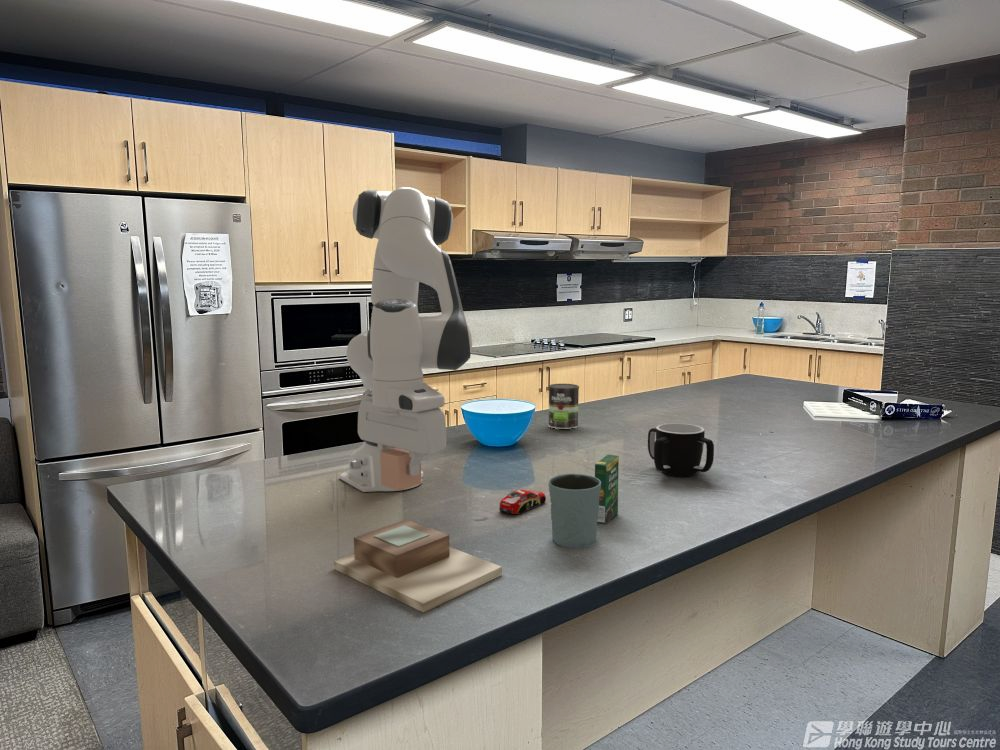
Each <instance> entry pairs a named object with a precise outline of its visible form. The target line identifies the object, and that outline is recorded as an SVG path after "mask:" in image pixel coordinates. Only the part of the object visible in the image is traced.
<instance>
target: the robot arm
mask: <svg viewBox="0 0 1000 750" xmlns="http://www.w3.org/2000/svg"><path fill="white" fill-rule="evenodd" d="M352 220H353V224H354V226H355V230H356V232H357V233H358V234H359V235H360V236H362V237H364V238H367V239H372V240H373V239H377V244H376V249H375V253H374V258H373V268H372V278H371V279H372V281H371V290H370V291H371V293H370V302H371V303H372V305H373V306H372V311H371V316H370V317H371V318H370V328H369V329H368V330H366V331H363V332H362V333H359V334H358V335H355V336H354V337H353V338H351V340H350V341H349V343H348V344H347V347H346V359H347V362H348V365H349V366H350V368H351V369H352V370H353V371H354V372H355V373H356V374H357V375H358V376H359V378H360V380H361V382H362V384H363V387H364V390H365V391H364V392H363V393H362V395H361V396H360V400H361V401H360V404H359V406H358V412H357V434H358V437H359V438H360V440H362V441H364V443H363V444H361V445H360V446H359V447H358V448H357V449H356V450H355V451H354V452H352V453H351V455H350V456H349V459H348V470H346V471H344V472H342V473H340V474H339V479H340V480H341V481H343V482H345V483H347V484H348V485H350V486H352V487H353V488H356V489H357V490H358V491H360V492H363V493H366V492H367V493H370V492H396V491H397V492H398V491H399V490H396V489H393V488H390V487H386V486H383V485H381V465H380V452H381V451H385V450H389V449H393V448H398V449H402V450H407V451H409V457H412V458H411V461H410V464H409V465H406V470H407V471H406V474H407V475H411V476H416V475H418V474H419V465H420V463H421V464H422V461H423V458H424V456H426V457H427V456H428V457H431V456H436V455H440V454H442V453H443V452H444V451H445V449H446V447H447V426H446V415H445V413H444V411H443V410H442V409H441V408H444V406H445V400H446V399H445V396H444V395H443V393H441V392H439V391H437V390H436V389H434V388H433V387H431V386H430V385H429V384H428V383H426V382H424V372H423V369H426V370H427V369H438V370H447V371H448V370H449V371H456V370H458V369H460V368H461V367H463V366H464V365H465V364H466V363H467V362H468V361H469V360H470V359H471V354H472V351H473V340H472V339H473V338H472V333H471V330H470V327H469V325H468V323H467V320H466V316H465V313H464V308H463V305H462V300H461V296H460V292H459V287H458V284H457V279H456V276H455V275H456V274H455V272H454V268H453V264H452V260H451V258H450V256H449V253H448V252H447V251H445V250H443V249H441V248H440V247H439V246H441V245H442V244H443V243H445V242H447V241H448V239H449V236H450V234H451V233H452V230H453V227H454V213H453V210H452V205H450V202H449V201H446V200H445V199H442V198H439V197H437V196H434V197H430V196H427V195H425V194H423V192H422V191H420V190H418V189H416V188H413V187H409V186H408V187H407V186H406V187H399V188H396V189H394V190H393V191H377V189H369V190H364V191H361V193H359V194H358V197H357V198H356V200H355V202H354V205H353V208H352ZM420 283H422V284H424V285H427V286H430V287H431V288H432V289H433V290H435V291H436V292H437V297H438V300H439V306H440V310H441V314H439V315H434V316H433V315H432V316H420V315H419V308H418V299H419V287H420ZM423 477H424V471H423V470H421V480H422V481H423ZM420 485H421V484H419V485H416V486H413V487H410V488H406V489H403V490H402V491H404V490H409V489H413V488H415V487H418V486H420Z"/></svg>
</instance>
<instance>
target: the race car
mask: <svg viewBox="0 0 1000 750" xmlns="http://www.w3.org/2000/svg"><path fill="white" fill-rule="evenodd" d="M546 499H547V498H546V495H545V493H544V492H542V491H540V490H535V489H534V490H533V489H528V490H526V489H516V490H514V491H512V492H510V493H508V494H507V495H506V496H505V497H503V498H502V499H500V502H499V507H498V508H499V511H500V512H504V513H508V514H513V515H519V514H520V515H522V514H523V513H525V512H527V511H529V510H531V509H533V508H535V507H538V506H540V505H543V504H545V503H546V501H547V500H546Z"/></svg>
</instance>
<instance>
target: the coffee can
mask: <svg viewBox="0 0 1000 750" xmlns="http://www.w3.org/2000/svg"><path fill="white" fill-rule="evenodd" d="M579 391H580V385H578V384H573V383H552V384H549V385H548V428H550V427H551V428H550V429H552V428H555V429H554V430H559V429H570V430H572V429H571V428H576V427H578V428H579V401H580V400H579V396H580V394H579ZM576 429H577V428H576Z"/></svg>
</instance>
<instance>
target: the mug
mask: <svg viewBox="0 0 1000 750" xmlns="http://www.w3.org/2000/svg"><path fill="white" fill-rule="evenodd" d="M705 431H706V430H705V428H704V427H702V426H700V425H697V424H691V423H681V422H680V423H679V422H677V423H676V422H671V423H670V422H669V423H661V424H658V425H657V426H656V427H652V428H650V429H649V430H648V433H647V450H648V455H649V456H650V458H651V459H652V460H653V461H654V467H655V468H656V470H657V471H659V472H662V474H665V475H668V476H671V477H672V476H673V477H682V478H683V477H692V476H695V475H696V474H697V473H698V472H700V473H707V472H708V471H709V470H711V468H712V466H713V463H714V458H715V444H714V441H712V440H711V439H710V438H706V437H705ZM704 444H706V455H705V457H706V458H705V464H704V466H700V465H701V462H702V455H703V454H704V453H703V452H704Z"/></svg>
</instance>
